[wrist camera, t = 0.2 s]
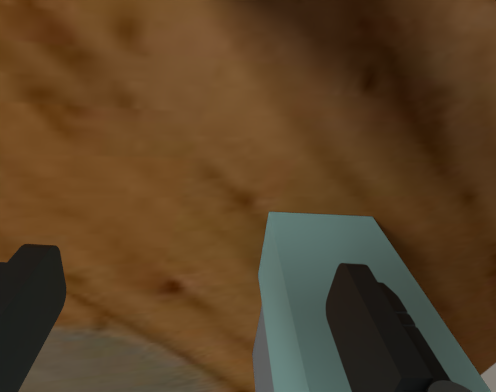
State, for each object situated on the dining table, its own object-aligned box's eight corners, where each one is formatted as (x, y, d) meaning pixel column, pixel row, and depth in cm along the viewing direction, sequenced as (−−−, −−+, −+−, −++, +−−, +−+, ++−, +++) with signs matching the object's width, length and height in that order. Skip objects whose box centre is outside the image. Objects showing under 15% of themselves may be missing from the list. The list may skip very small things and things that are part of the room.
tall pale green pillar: (267, 209, 30) (345, 570, 11) (375, 215, 31) (606, 547, 13) (256, 276, 34) (299, 615, 16) (351, 278, 36) (496, 595, 17)
